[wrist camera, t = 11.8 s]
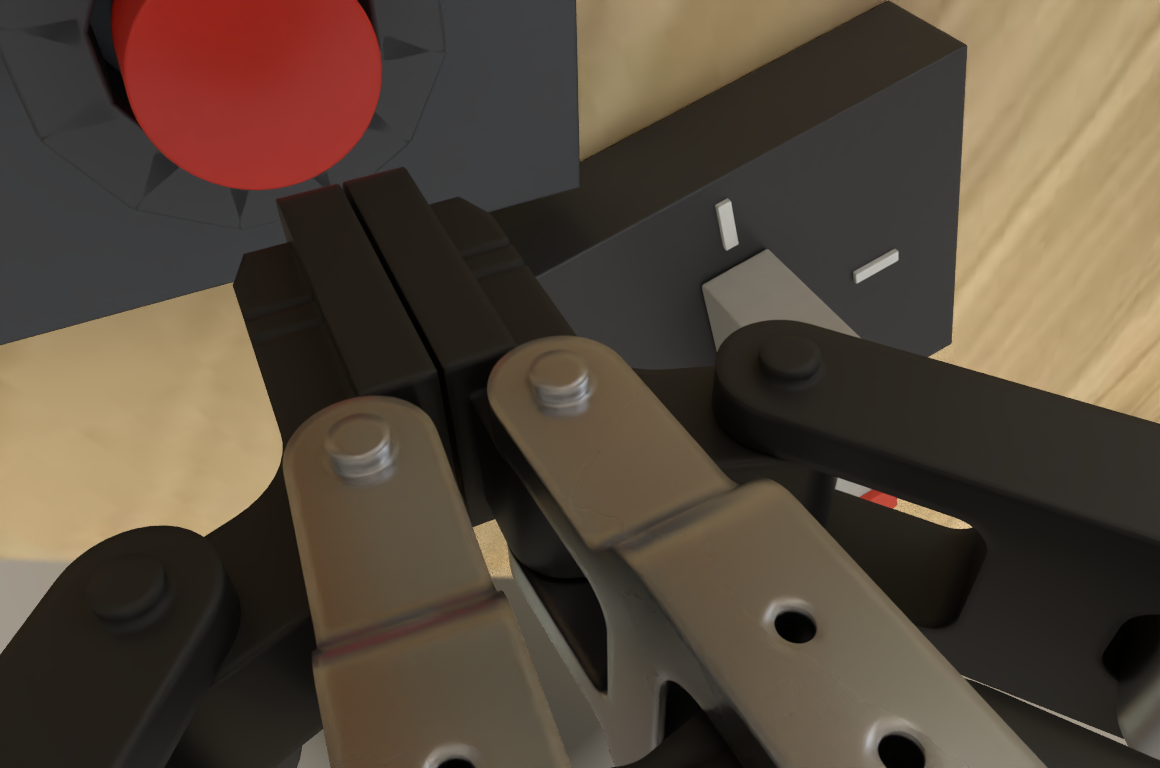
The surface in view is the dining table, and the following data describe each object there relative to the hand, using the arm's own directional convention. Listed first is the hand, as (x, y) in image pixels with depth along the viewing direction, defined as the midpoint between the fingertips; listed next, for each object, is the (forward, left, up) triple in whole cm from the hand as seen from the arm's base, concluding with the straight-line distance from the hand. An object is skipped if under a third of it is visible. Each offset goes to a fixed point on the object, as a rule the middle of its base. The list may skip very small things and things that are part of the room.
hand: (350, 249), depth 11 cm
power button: (0, 0, -6) cm, 6 cm away
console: (-11, +11, -10) cm, 18 cm away
